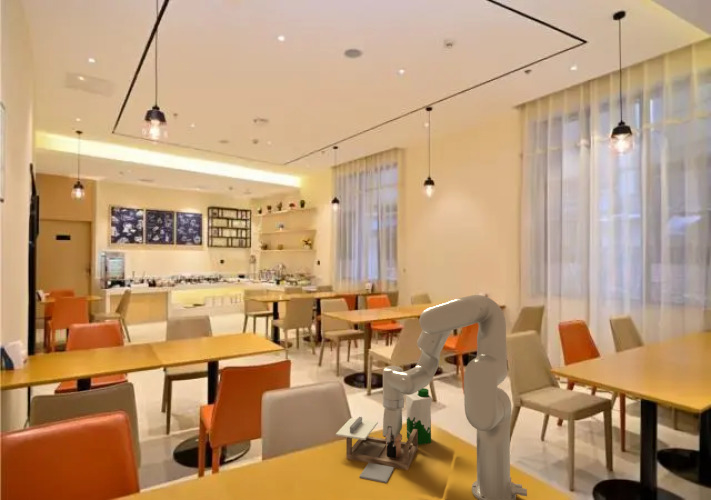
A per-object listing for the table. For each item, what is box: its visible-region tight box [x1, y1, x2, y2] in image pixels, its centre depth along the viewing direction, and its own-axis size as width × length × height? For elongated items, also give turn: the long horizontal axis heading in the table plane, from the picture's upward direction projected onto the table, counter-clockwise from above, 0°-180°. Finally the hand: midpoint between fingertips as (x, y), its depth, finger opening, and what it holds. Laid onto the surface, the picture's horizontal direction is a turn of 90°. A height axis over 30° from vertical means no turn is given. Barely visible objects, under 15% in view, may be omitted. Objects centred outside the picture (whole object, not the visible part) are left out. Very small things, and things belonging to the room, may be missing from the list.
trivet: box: [359, 462, 395, 484], centre depth 131 cm, size 9×9×2 cm
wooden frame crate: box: [345, 429, 419, 471], centre depth 145 cm, size 22×16×8 cm
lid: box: [335, 416, 379, 440], centre depth 148 cm, size 11×15×3 cm
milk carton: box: [405, 387, 433, 446], centre depth 155 cm, size 9×9×20 cm
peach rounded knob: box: [384, 432, 403, 459], centre depth 143 cm, size 6×6×7 cm
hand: (393, 452), depth 143 cm, fingers closed on peach rounded knob, 5 cm apart
